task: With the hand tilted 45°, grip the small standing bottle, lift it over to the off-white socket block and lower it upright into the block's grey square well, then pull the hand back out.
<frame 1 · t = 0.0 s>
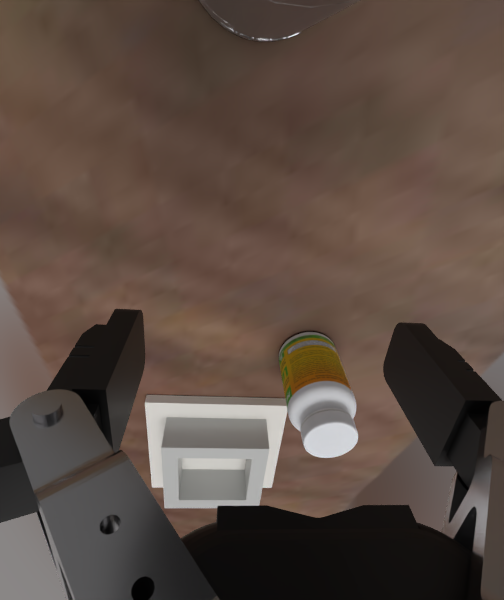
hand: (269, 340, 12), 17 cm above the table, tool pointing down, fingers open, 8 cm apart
socket block: (215, 441, 41), on the table
supplement bottle: (306, 351, 35), on the table
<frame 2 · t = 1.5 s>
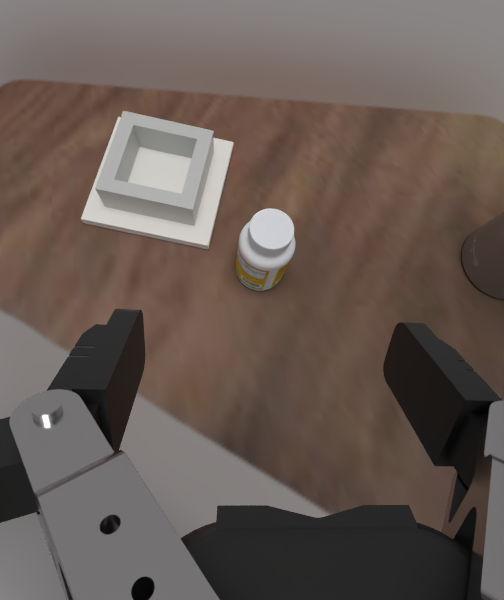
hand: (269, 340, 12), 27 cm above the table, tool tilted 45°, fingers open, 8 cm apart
socket block: (162, 183, 43), on the table
supplement bottle: (259, 269, 41), on the table
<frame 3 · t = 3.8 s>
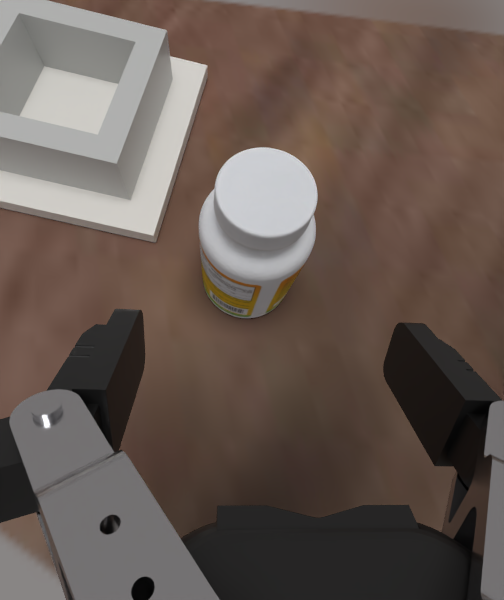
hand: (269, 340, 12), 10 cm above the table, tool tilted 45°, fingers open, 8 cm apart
socket block: (82, 129, 25), on the table
supplement bottle: (245, 279, 23), on the table
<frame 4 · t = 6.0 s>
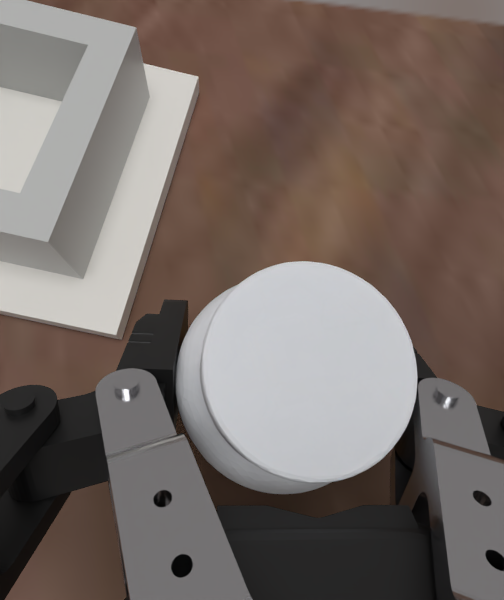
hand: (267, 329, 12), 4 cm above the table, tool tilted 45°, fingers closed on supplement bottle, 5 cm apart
socket block: (21, 168, 18), on the table
supplement bottle: (253, 392, 16), on the table, touching gripper
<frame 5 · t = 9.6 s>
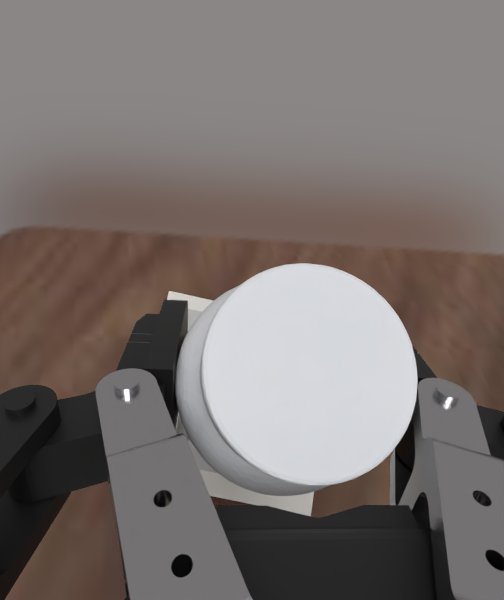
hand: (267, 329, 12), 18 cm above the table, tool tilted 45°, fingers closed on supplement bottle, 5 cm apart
socket block: (234, 396, 29), on the table
supplement bottle: (253, 393, 16), point 14 cm above the table, touching gripper
when the fingers open (6 cm above the table, at t = 13.2 s): supplement bottle drops 1 cm, resting on socket block.
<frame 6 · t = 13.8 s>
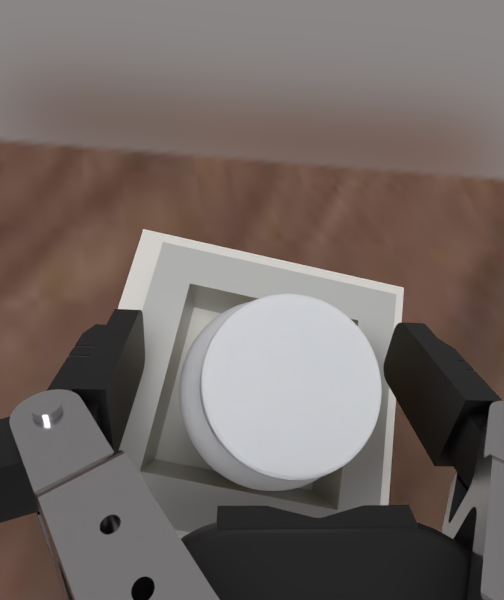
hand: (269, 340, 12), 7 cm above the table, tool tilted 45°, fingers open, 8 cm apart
socket block: (247, 394, 18), on the table
supplement bottle: (250, 398, 17), point 1 cm above the table, touching socket block
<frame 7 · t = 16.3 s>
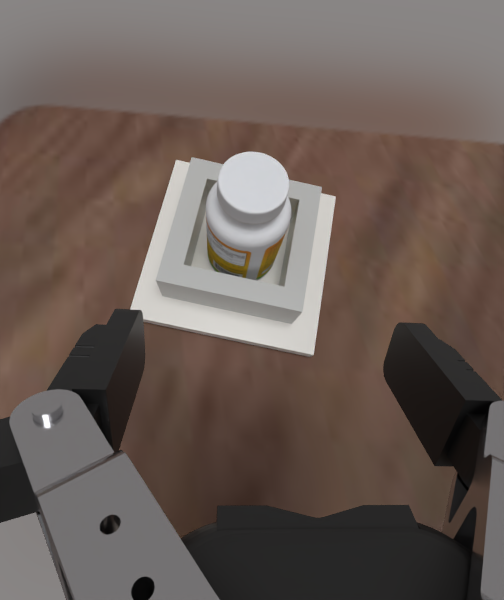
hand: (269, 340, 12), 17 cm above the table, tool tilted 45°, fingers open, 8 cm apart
socket block: (239, 256, 30), on the table
supplement bottle: (240, 254, 30), point 1 cm above the table, touching socket block
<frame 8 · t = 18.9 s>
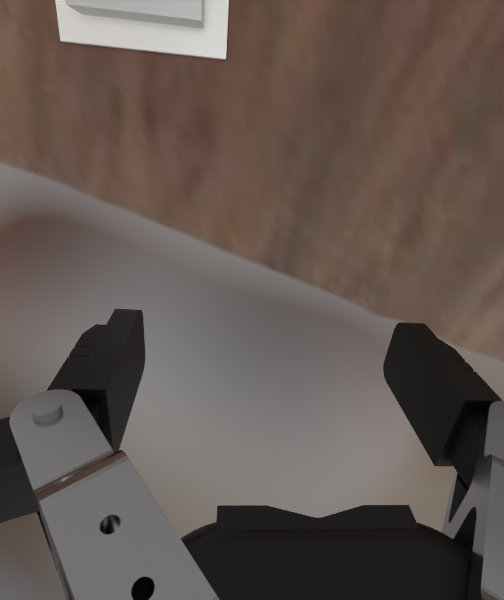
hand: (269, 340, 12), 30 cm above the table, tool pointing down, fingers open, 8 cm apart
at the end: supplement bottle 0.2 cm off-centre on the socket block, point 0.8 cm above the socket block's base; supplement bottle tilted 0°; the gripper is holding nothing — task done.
